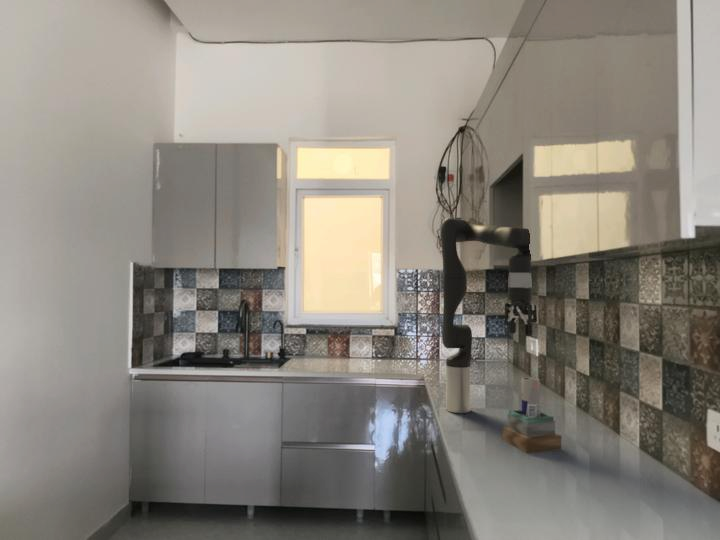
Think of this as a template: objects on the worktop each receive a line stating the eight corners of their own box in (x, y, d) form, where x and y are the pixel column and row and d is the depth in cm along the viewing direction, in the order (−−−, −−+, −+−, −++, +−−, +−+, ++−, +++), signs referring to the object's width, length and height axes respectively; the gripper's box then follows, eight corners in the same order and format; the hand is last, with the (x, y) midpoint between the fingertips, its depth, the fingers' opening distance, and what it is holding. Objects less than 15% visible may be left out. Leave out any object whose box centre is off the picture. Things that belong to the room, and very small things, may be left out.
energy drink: (525, 414, 140) (524, 375, 141) (542, 417, 137) (542, 378, 137) (519, 417, 136) (518, 378, 137) (537, 421, 133) (536, 380, 133)
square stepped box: (502, 439, 140) (502, 409, 141) (534, 436, 144) (534, 407, 144) (526, 452, 129) (526, 420, 129) (561, 449, 132) (561, 417, 133)
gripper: (498, 286, 157) (498, 332, 156) (523, 286, 143) (523, 336, 143) (516, 286, 159) (516, 332, 158) (543, 286, 145) (543, 336, 145)
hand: (520, 334), depth 150 cm, fingers open, 8 cm apart
